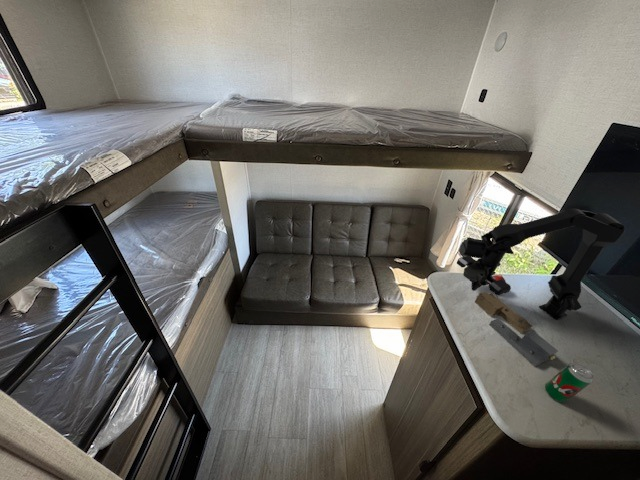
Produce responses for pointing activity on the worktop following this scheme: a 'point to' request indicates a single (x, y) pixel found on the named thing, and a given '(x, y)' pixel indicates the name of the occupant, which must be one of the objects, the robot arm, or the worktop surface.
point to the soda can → (569, 382)
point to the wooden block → (502, 311)
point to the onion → (498, 278)
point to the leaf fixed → (526, 343)
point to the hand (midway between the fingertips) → (473, 290)
